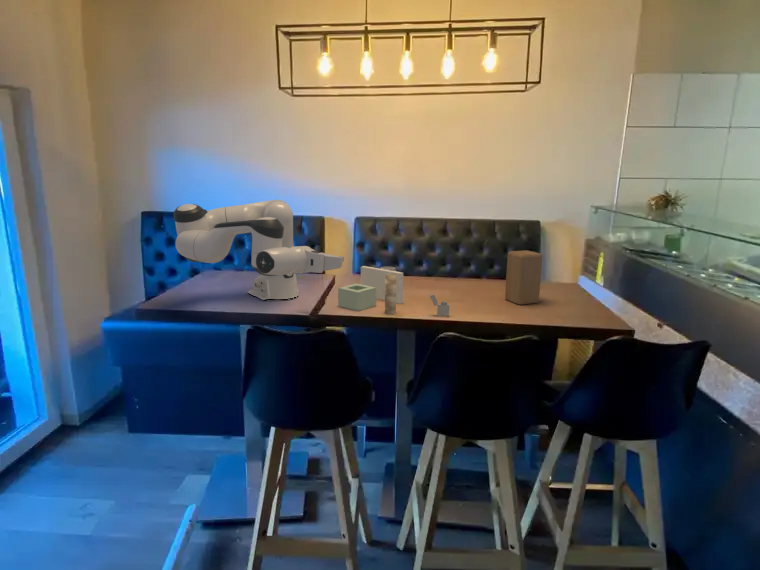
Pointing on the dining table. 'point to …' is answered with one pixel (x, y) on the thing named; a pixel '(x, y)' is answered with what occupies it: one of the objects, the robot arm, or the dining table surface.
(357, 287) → the green square bin
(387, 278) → the dowel
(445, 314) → the lighter
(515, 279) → the wooden block
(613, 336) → the dining table surface
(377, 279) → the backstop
